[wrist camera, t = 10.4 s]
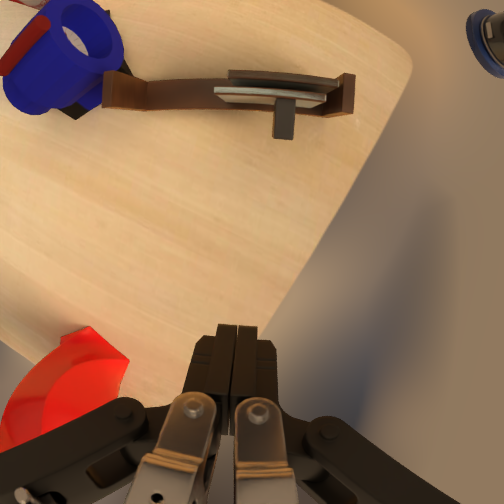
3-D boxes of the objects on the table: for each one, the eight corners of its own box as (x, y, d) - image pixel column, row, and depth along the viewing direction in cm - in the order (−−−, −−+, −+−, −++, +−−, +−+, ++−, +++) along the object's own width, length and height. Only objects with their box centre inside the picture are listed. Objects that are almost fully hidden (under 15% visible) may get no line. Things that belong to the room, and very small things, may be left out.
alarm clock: (141, 79, 29) (68, 58, 16) (64, 128, 31) (-19, 140, 18) (114, 6, 25) (47, -35, 11) (43, 57, 27) (-35, 46, 13)
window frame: (328, 118, 31) (353, 114, 22) (142, 111, 31) (101, 107, 22) (330, 89, 29) (355, 74, 20) (144, 83, 30) (103, 71, 20)
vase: (62, 364, 48) (-4, 473, 22) (57, 308, 42) (-40, 428, 16) (131, 395, 49) (82, 522, 23) (136, 342, 44) (65, 498, 18)
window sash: (308, 140, 30) (322, 143, 23) (224, 134, 30) (211, 135, 23) (311, 102, 29) (326, 94, 21) (226, 96, 29) (214, 85, 21)
